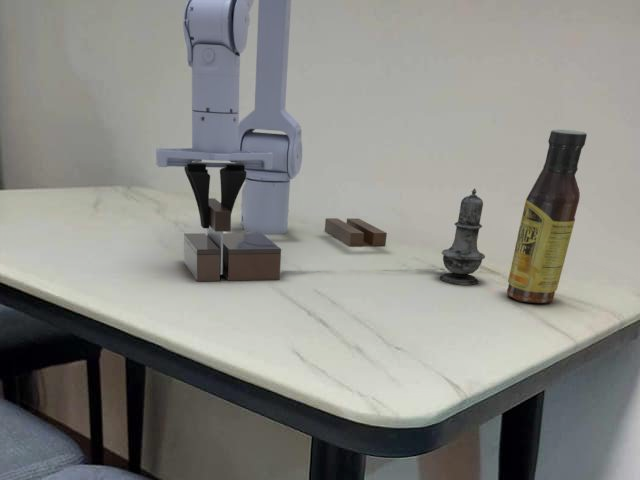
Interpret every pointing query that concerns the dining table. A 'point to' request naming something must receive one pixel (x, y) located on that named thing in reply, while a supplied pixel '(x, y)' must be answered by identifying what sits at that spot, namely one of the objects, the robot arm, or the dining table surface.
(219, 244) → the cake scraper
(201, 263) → the brown rectangular block
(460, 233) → the salt shaker
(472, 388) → the dining table surface
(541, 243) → the sauce bottle
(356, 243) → the knife stand
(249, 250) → the brown lidded box
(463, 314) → the dining table surface
